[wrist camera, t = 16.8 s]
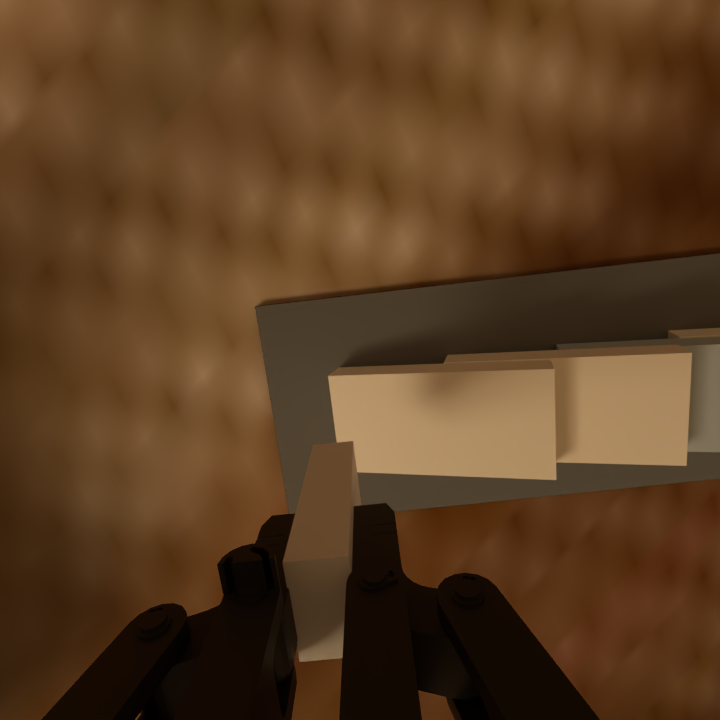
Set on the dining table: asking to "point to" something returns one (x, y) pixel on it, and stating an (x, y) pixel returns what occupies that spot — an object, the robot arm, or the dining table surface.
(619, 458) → the domino
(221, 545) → the dining table surface
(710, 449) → the domino
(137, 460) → the dining table surface
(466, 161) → the dining table surface
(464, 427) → the domino
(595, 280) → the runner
